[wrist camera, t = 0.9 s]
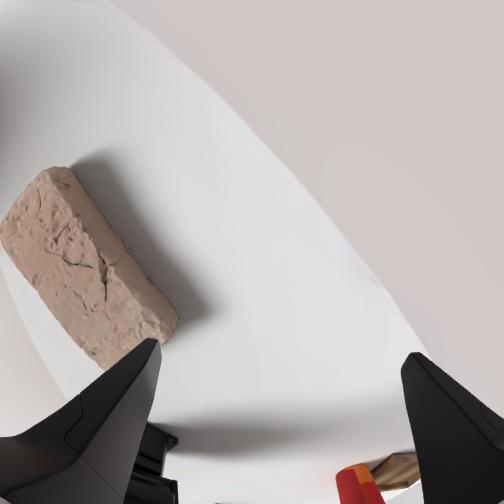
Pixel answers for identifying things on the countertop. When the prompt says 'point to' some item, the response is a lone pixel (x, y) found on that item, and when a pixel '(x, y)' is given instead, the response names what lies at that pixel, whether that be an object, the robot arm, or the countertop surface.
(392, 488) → the tray
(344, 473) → the paper cup
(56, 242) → the brick
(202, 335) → the countertop surface
